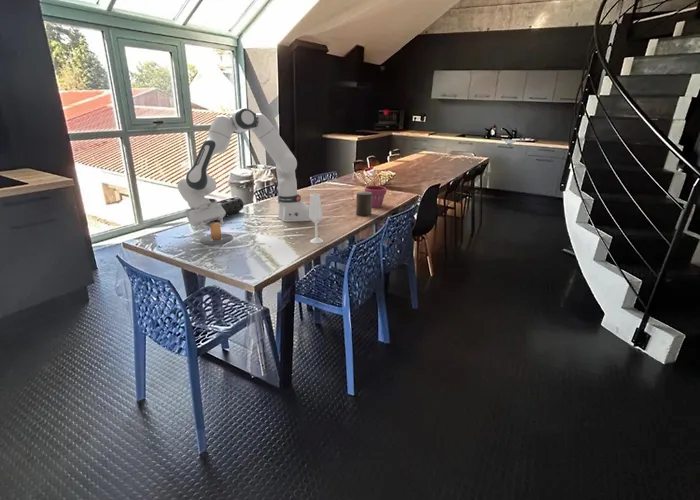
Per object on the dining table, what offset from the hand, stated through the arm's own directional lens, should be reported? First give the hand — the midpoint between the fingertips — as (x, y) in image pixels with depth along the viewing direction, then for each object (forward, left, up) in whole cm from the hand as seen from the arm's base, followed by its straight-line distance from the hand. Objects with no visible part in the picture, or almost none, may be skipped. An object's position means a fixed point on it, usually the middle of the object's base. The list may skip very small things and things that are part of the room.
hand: (215, 227), depth 193 cm
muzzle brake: (+13, -38, -7) cm, 41 cm away
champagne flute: (-52, -3, -7) cm, 52 cm away
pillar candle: (-72, -55, -7) cm, 91 cm away
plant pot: (-78, -75, -7) cm, 108 cm away
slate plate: (0, 0, -7) cm, 7 cm away
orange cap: (0, 0, -6) cm, 6 cm away
